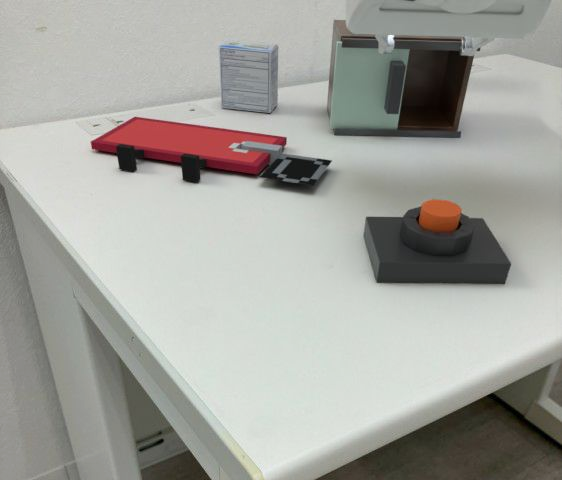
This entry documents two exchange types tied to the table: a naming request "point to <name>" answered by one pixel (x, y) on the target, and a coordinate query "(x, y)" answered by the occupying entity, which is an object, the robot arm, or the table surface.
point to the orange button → (439, 215)
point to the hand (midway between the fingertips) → (425, 49)
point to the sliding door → (367, 88)
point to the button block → (434, 251)
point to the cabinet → (417, 83)
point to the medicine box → (249, 75)
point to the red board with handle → (207, 150)
